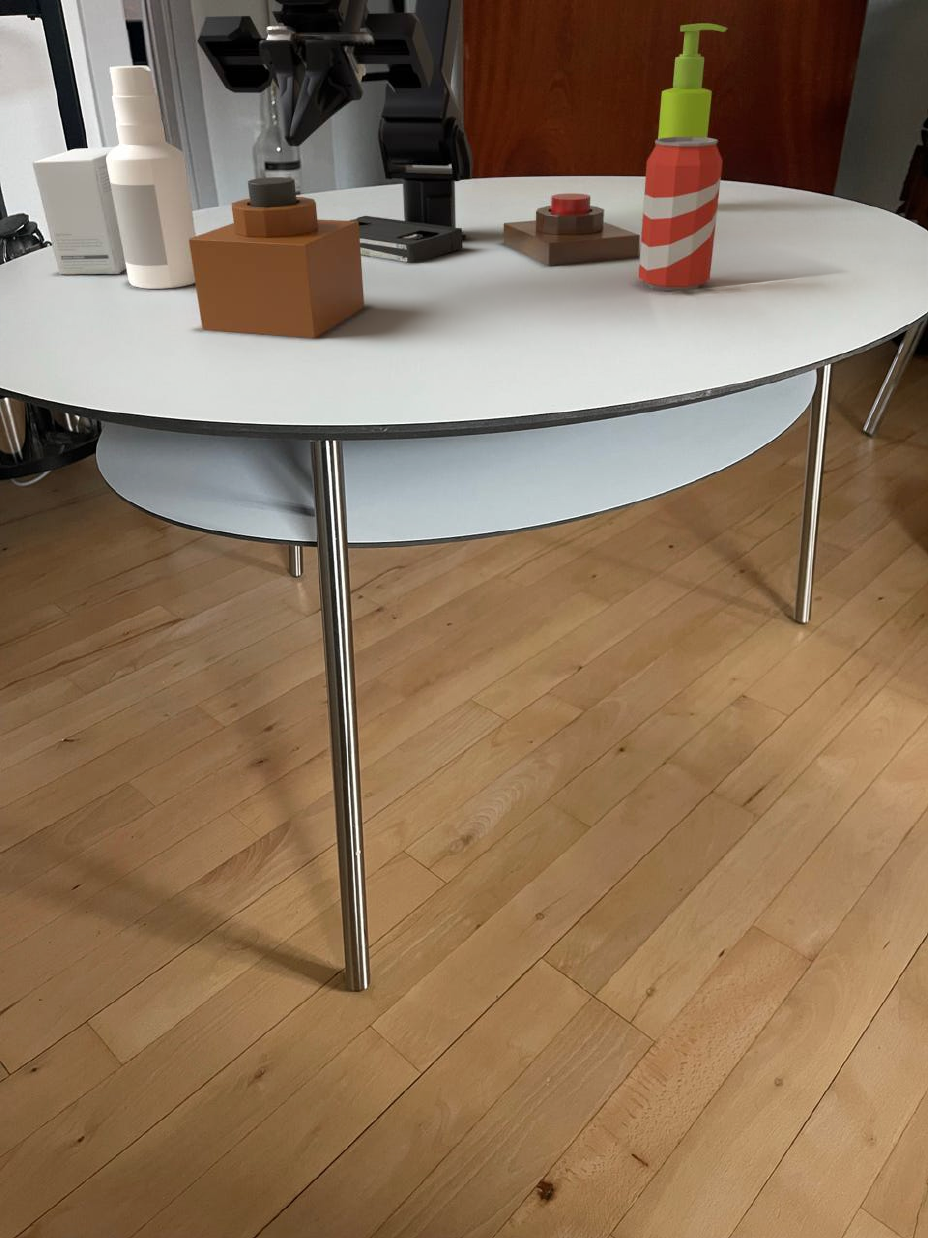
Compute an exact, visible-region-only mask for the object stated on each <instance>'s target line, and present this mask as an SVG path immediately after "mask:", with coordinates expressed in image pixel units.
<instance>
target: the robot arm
mask: <svg viewBox="0 0 928 1238" xmlns="http://www.w3.org/2000/svg"><path fill="white" fill-rule="evenodd" d="M368 1H369V0H274V1H273V5H272V9H271V13H272V15H273V17H274V19H275V21H276V23H277V24H283V25H268V26H266V28H265V33H266V35H267V36H266V37H263V38H262V35H261V34H260V32H259V30H258V27H257V26H256V25H255V24H256V23H254V21H253V18H252V16H250V15H230V16H224V15H223V16H205V18H204V20H203V22H202V25H201V28H200V31H199V34H198V38H197V40H196V41H197V43H198V45H199V47H200V49H201V50H202V52H203V53H204V55H205V57H206V58H207V60H208V61H209V63H210V65H211V67H212V68H213V70H214V72H215V73H216V74H217V76H218V78H219V79H220V81H221V83H222V85H223V86H224V87H225V89H227V90H229V92H232V93H235V94H261V93H262V92H264V91H265V90H267V89H268V88H270V87H271V86H272V83H273V81H274V84H275V85H276V87H277V89H278V90H279V96H280V105H281V106H280V107H281V115H282V125H283V134H284V140H285V141H286V144H287V145H288V146H289V147H300V146H301V145H302V144H303V143H304V142H305V141H306V140H307V139H309V138H310V137H311V136H312V135H313V134H314V133H315V132H316V131H317V130H318V129H319V128H320V127H321V126H322V125H324V123H326V122H327V121H328V120H329V119H330V118H332V117H333V116H335V114H336V113H338V112H339V111H340V110H342V109H344V108H345V107H346V106H347V105H348V104H350V103H351V102H353V101H360V100H362V98H363V95H364V91H363V88H362V86H361V84H362V80H363V77H365V76H366V74H367V68H366V65H386V66H387V68H388V73H387V77H386V81H387V83H386V85H385V90H384V91H385V92H384V93H385V94H384V102H383V103H384V104H383V109H382V112H381V114H380V120H379V123H378V129H377V139H378V145H379V150H380V157H381V162H382V167H383V171H384V177H385V180H393V179H395V180H397V179H399V180H402V193H403V217H404V221H409V222H417V223H424V224H432V225H439V226H447V227H454V228H457V224H456V223H457V220H456V182H460V181H466V180H472V178H473V177H472V175H473V174H472V170H473V168H474V165H473V156H474V155H473V152H472V149H471V146H470V143H469V140H468V137H467V134H466V131H465V128H464V125H463V122H462V111H461V108H460V106H459V104H458V102H457V98H456V95H455V93H454V91H453V89H452V77H453V71H454V70H453V69H454V63H455V62H454V61H455V55H456V47H457V42H458V33H459V27H460V20H461V19H460V18H461V12H462V5H463V0H415V5H414V11H413V12H381V13H380V12H378V13H377V12H375V13H371V12H370V10H369V8H368V6H367V5H368ZM361 29H366V31H361ZM450 165H451V167H448V166H450ZM409 166H410V167H409ZM412 166H413V167H412ZM414 166H432V167H414ZM433 166H434V167H433ZM463 239H464V240H466V239H467V233H465V232H463V231H462V240H463Z"/></svg>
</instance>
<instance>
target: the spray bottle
mask: <svg viewBox="0 0 928 1238" xmlns="http://www.w3.org/2000/svg"><path fill="white" fill-rule="evenodd" d="M109 73H110V77H111V78H110V79H111V85H112V95H111V100H112V105H113V110H114V116H115V127H116V132H117V137H118V144H117V146H114V147H115V148H114V149H113V150H112V151H111V152H110V153H109V154H108V155H107V157H106V163H107V168H108V173H109V179H110V184H111V189H112V195H113V200H114V205H115V210H116V216H117V221H118V226H119V232H120V237H121V242H122V248H123V253H124V258H125V263H126V269H125V270H126V274H127V279H128V282H129V283H130V285H131V286H133V287H136V288H140V289H146V290H147V289H148V290H165V289H166V290H167V289H177V288H181V287H186V286H191V285H192V284H195V277H194V270H193V264H192V257H191V251H190V244H189V239H190V238H193V237H196V236H197V235H196V227H195V220H194V214H193V209H192V201H191V195H190V187H189V182H188V174H187V168H186V161H185V155H184V152H182V151H181V150H180V149H179V148H178V147H176V146H174V145H172V144H170V143H169V142H167V140H166V134H165V127H164V121H163V120H162V115H161V108H160V101H159V96H158V94H157V93H156V88H155V87H154V82H153V81H154V80H153V74H152V70H151V68H150V67H149V66H148V65H119V66H118V65H117V66H109Z"/></svg>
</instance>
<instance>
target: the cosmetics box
mask: <svg viewBox="0 0 928 1238" xmlns="http://www.w3.org/2000/svg"><path fill="white" fill-rule="evenodd" d="M115 147H116V146H104V147H103V146H101V147H87V148H85V147H84V148H74V149H70V150H67V151H63V152H60V153H58V154H54V155H51V156H48V157H45V158H42V159H39V160H36V161H32V162H31V165H32V168H33V171H34V175H35V179H36V184H37V188H38V192H39V196H40V200H41V204H42V208H43V212H44V217H45V220H46V224H47V229H48V233H49V237H50V241H51V245H52V251H53V254H54V258H55V263H56V265H57V270H58V274H59V275H119V274H121V273H122V272H124V271H125V270H127V269H126V263H125V258H124V253H123V248H122V242H121V237H120V232H119V226H118V221H117V216H116V210H115V205H114V200H113V195H112V189H111V184H110V179H109V173H108V168H107V163H106V157H107V155H108V154H109V153H110V152H111V151H112V150H113V149H114V148H115Z"/></svg>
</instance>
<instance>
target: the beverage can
mask: <svg viewBox="0 0 928 1238" xmlns="http://www.w3.org/2000/svg"><path fill="white" fill-rule="evenodd" d="M718 143H719V140H718V138H717V139H716V138H712V137H707V138H704V137H669V138H659V139H658V138H657V139H655V140H654V144H655V146H654V148H653V150H652V151H651V153H650V155H649V157H648V158H647V160H646V165H645V166H646V167H645V169H646V170H645V182H644V193H643V195H644V196H643V208H642V222H641V234H640V247H639V262H638V263H639V264H638V279H639V280H641V281H643V282H645V284H646V286H647V287H649V288H651V289H652V290H655V291H662V292H673V293H674V292H675V293H676V292H677V293H678V292H680V293H681V292H682V293H685V292H688V291H695V290H697V289H698V288H699V287H700V286H701V285H704V284H706V283H707V282H708V281H709V280H710V278H711V270H712V261H713V251H714V242H715V234H716V225H717V216H718V205H719V197H720V188H721V179H722V170H723V162H724V161H723V158H722V156H721V153H720V151H719V148H718V146H717V144H718Z"/></svg>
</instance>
